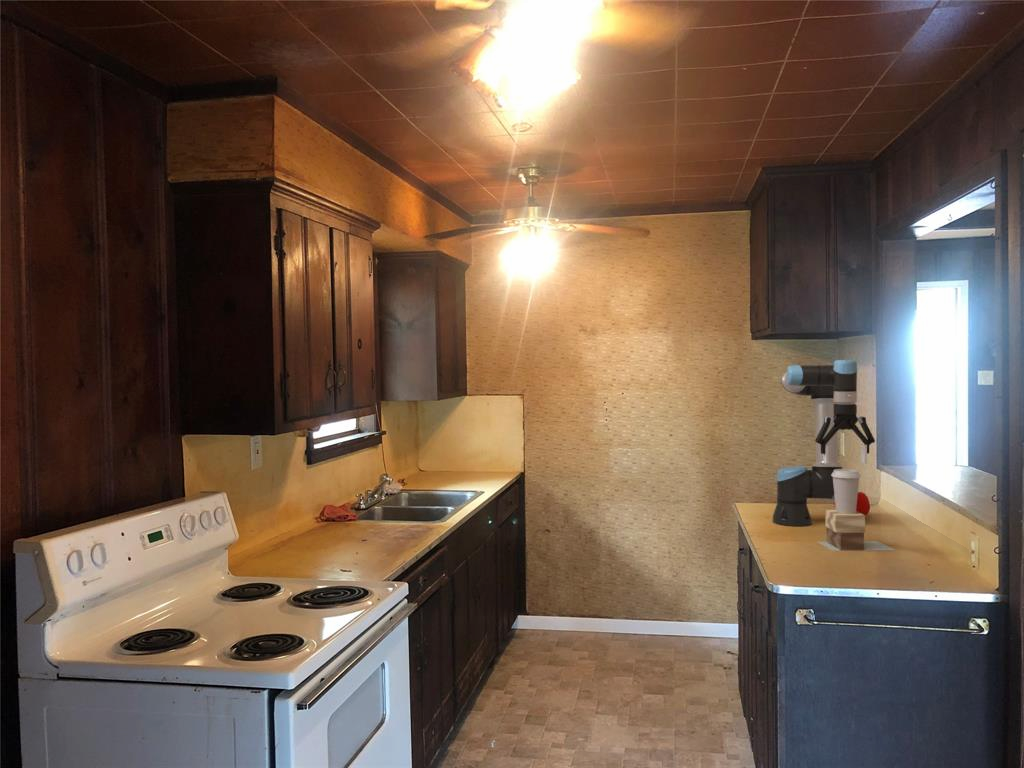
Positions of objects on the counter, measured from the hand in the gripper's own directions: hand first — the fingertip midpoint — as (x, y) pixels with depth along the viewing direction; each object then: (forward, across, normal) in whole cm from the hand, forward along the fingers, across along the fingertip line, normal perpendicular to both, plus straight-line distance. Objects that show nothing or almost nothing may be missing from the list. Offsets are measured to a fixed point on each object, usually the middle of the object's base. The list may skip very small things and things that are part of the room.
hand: (844, 463), depth 269 cm
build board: (+31, +4, 0) cm, 31 cm away
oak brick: (+24, 0, -1) cm, 24 cm away
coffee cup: (+18, 0, 0) cm, 18 cm away
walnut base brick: (+30, 0, -1) cm, 30 cm away
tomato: (+32, +28, +56) cm, 70 cm away
